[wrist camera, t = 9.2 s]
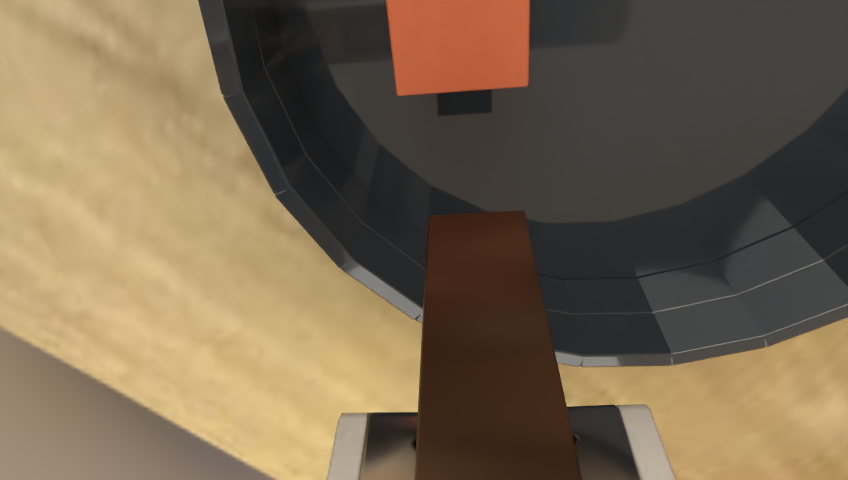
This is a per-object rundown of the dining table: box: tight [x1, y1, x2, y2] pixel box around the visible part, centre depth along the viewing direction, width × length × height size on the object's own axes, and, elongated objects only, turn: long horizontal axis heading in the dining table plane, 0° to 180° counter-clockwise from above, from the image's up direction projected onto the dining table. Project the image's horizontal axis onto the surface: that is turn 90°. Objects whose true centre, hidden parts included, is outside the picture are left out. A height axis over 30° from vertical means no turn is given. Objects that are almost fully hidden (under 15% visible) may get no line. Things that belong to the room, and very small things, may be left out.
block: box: [386, 0, 530, 96], centre depth 16 cm, size 4×4×4 cm
